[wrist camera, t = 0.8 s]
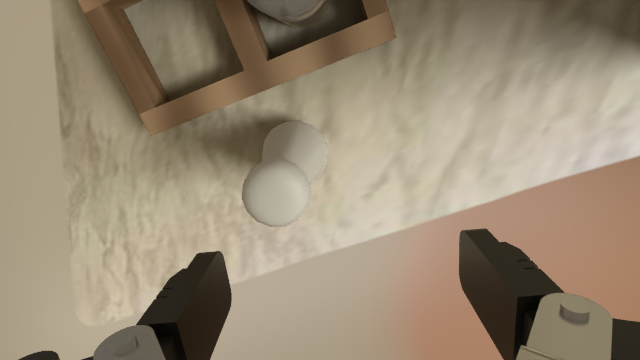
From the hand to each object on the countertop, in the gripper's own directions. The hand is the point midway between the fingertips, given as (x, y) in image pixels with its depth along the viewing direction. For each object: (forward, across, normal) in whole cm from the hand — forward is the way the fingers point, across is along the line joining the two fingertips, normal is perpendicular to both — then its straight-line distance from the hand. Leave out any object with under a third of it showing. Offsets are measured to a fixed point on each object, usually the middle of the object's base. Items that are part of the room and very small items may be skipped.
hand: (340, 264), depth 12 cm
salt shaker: (+22, +3, +1) cm, 23 cm away
